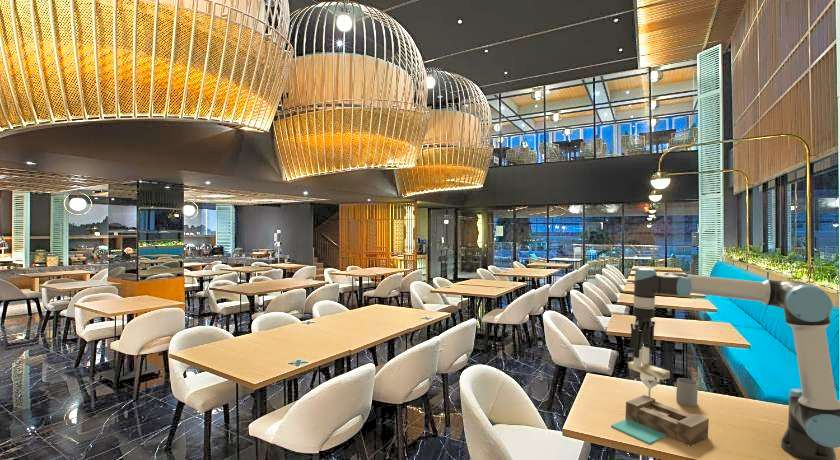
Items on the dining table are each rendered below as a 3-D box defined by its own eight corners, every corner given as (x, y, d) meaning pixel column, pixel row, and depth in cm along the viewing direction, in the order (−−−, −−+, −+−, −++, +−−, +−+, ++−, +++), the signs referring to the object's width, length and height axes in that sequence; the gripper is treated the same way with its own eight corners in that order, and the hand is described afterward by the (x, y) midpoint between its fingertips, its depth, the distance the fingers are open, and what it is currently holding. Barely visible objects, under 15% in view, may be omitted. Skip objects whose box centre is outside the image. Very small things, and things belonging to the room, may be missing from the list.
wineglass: (641, 399, 205) (642, 361, 205) (660, 404, 200) (662, 365, 200) (637, 404, 199) (638, 366, 198) (657, 409, 194) (658, 370, 193)
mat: (666, 436, 170) (666, 434, 170) (649, 444, 163) (649, 442, 163) (627, 419, 183) (627, 418, 183) (611, 426, 176) (611, 425, 176)
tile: (669, 377, 166) (670, 371, 166) (662, 379, 163) (663, 373, 163) (635, 366, 178) (635, 360, 178) (628, 368, 175) (628, 362, 175)
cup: (672, 400, 205) (673, 379, 204) (683, 397, 208) (684, 377, 208) (689, 407, 197) (690, 386, 197) (701, 404, 200) (701, 383, 200)
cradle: (707, 437, 170) (708, 418, 169) (690, 446, 162) (691, 427, 162) (643, 411, 191) (644, 395, 191) (625, 418, 184) (626, 401, 184)
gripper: (647, 303, 180) (644, 358, 181) (621, 307, 170) (619, 365, 171) (665, 306, 174) (662, 363, 175) (640, 310, 164) (637, 371, 165)
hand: (641, 364), depth 173 cm, fingers closed on tile, 5 cm apart
